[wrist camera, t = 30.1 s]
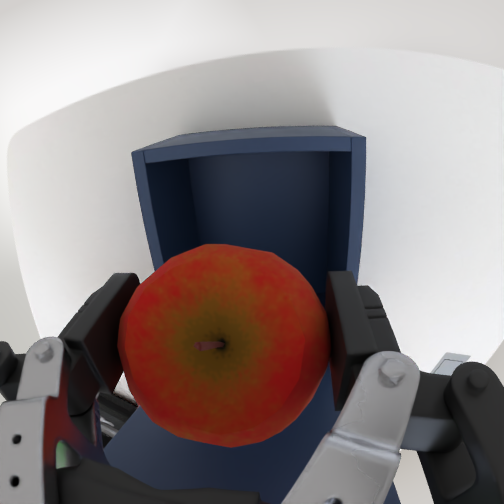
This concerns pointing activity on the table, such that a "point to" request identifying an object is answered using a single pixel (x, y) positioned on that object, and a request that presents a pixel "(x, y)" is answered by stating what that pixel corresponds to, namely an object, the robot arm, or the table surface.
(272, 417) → the apple
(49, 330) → the table surface
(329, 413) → the lid
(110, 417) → the camera
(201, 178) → the box
